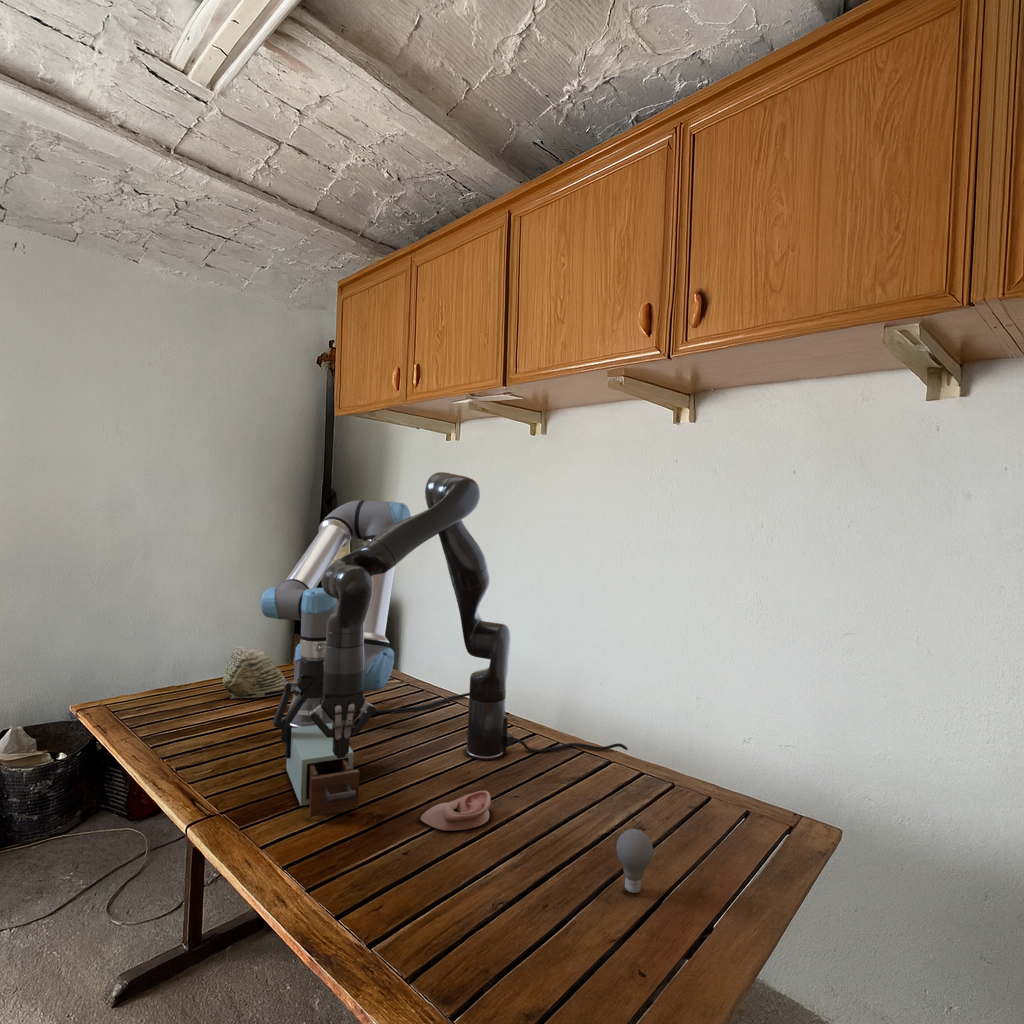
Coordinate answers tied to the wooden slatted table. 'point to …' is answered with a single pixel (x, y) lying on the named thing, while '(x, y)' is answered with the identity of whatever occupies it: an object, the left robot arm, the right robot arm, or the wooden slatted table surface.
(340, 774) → the drawer
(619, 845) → the light bulb
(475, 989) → the wooden slatted table surface
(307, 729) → the cabinet
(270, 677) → the fossil
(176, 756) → the wooden slatted table surface
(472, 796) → the anatomical model
